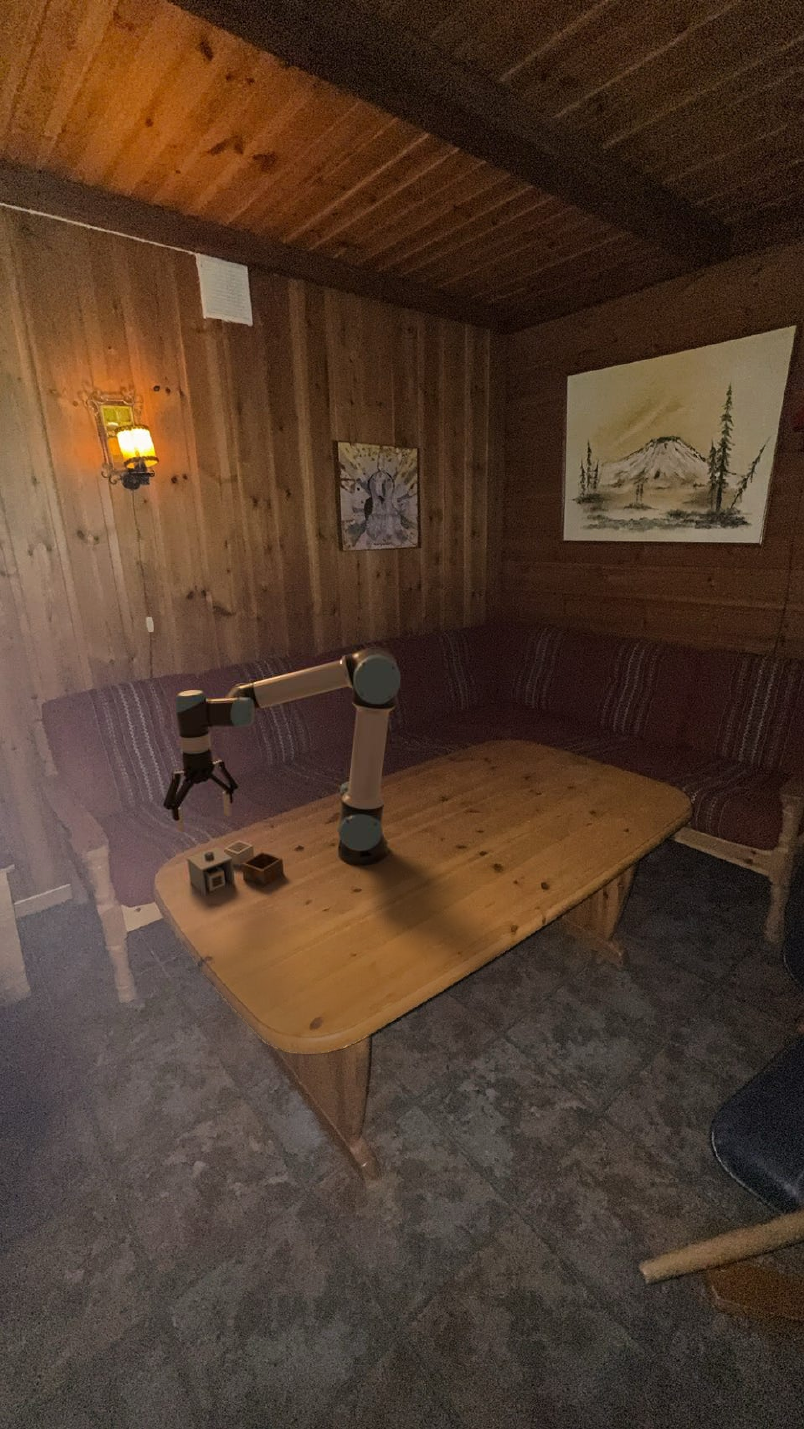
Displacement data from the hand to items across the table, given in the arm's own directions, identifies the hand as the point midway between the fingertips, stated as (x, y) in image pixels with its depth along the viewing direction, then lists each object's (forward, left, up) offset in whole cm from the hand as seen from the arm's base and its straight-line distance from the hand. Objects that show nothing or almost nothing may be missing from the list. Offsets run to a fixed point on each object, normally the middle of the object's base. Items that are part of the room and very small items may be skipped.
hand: (205, 822), depth 170 cm
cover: (0, 0, -19) cm, 19 cm away
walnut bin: (-10, -10, -19) cm, 24 cm away
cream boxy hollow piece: (-1, 0, -19) cm, 19 cm away
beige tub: (+3, -13, -19) cm, 23 cm away
